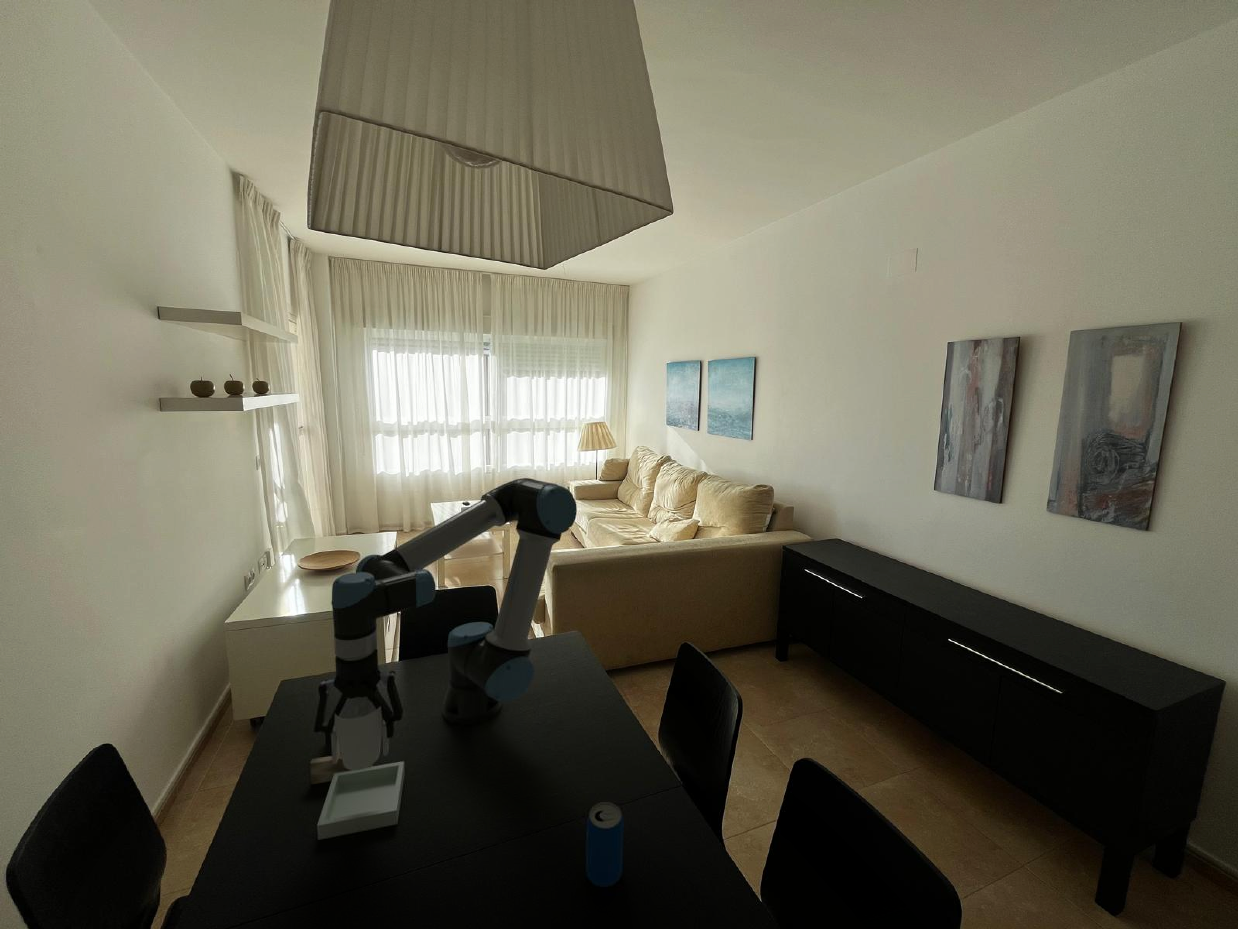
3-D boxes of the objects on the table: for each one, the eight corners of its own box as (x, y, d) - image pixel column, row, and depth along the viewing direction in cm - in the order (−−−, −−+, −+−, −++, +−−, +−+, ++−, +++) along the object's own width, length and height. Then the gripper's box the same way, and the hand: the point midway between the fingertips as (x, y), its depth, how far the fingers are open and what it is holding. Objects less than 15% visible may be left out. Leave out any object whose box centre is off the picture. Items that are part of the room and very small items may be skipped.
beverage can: (585, 858, 97) (586, 801, 95) (620, 856, 97) (621, 799, 95) (586, 891, 90) (587, 830, 88) (623, 889, 91) (625, 829, 89)
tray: (404, 773, 116) (404, 761, 116) (397, 824, 103) (396, 810, 103) (335, 786, 112) (334, 773, 112) (318, 840, 99) (317, 825, 99)
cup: (366, 779, 101) (363, 722, 99) (326, 771, 102) (322, 715, 101) (395, 748, 110) (393, 695, 108) (357, 741, 111) (355, 689, 110)
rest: (381, 732, 130) (380, 714, 129) (371, 774, 116) (370, 753, 115) (327, 741, 126) (326, 722, 125) (311, 784, 113) (310, 763, 112)
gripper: (415, 637, 109) (418, 735, 113) (301, 648, 103) (307, 752, 106) (412, 654, 102) (415, 758, 105) (289, 668, 96) (296, 778, 99)
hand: (361, 755), depth 106 cm, fingers closed on cup, 9 cm apart
